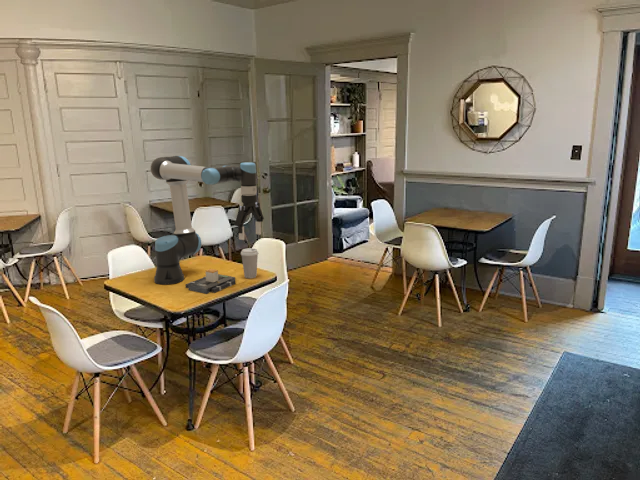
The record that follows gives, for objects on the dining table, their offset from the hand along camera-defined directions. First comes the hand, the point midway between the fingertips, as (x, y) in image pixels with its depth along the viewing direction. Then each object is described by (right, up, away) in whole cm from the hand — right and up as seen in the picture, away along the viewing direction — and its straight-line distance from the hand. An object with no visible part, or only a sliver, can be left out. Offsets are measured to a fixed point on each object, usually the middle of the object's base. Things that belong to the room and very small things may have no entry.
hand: (250, 236), depth 242 cm
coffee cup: (-3, -22, +22) cm, 31 cm away
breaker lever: (-20, -22, +6) cm, 31 cm away
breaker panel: (-20, -25, +7) cm, 33 cm away
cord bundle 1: (-27, -24, +11) cm, 38 cm away
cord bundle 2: (-14, -26, +3) cm, 30 cm away
